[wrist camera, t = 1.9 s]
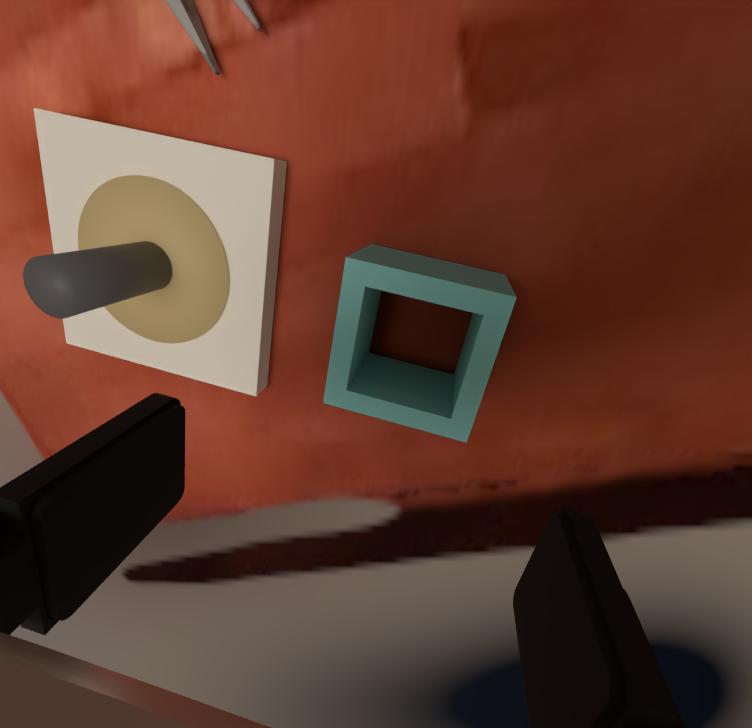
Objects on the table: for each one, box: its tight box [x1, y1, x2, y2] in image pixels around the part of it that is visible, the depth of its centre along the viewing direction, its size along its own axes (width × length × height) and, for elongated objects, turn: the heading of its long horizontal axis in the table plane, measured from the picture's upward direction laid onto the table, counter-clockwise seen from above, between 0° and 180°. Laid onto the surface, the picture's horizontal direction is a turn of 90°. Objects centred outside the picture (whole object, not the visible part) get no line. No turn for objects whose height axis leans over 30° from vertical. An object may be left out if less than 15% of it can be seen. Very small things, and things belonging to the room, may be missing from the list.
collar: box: [323, 244, 517, 443], centre depth 20 cm, size 7×7×5 cm
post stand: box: [23, 108, 287, 396], centre depth 20 cm, size 13×13×8 cm
